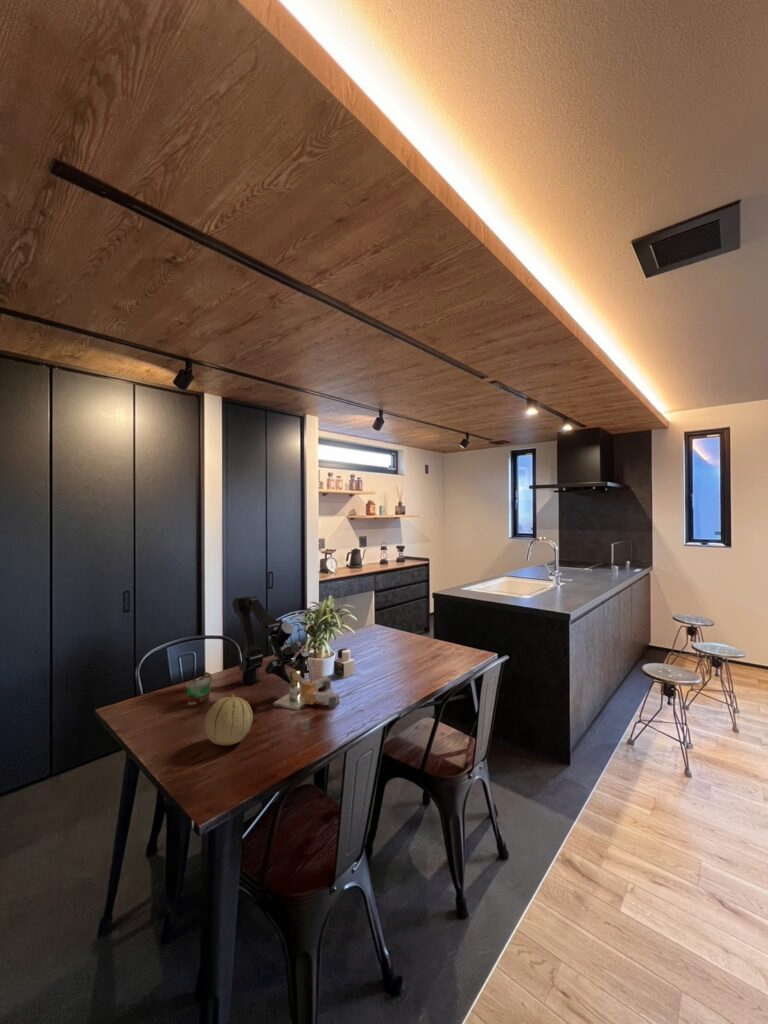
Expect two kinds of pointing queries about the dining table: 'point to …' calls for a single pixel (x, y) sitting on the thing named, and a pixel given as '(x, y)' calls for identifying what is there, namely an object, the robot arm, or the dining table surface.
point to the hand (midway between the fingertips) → (296, 680)
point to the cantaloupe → (228, 720)
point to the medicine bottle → (344, 664)
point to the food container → (199, 690)
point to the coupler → (295, 685)
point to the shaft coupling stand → (311, 695)
